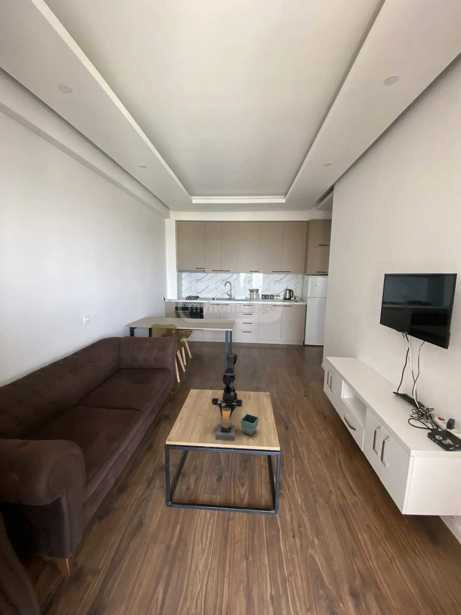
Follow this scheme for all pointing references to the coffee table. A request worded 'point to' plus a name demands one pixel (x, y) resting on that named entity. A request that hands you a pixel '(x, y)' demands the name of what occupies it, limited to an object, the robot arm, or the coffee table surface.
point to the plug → (226, 416)
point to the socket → (225, 436)
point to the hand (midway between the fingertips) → (225, 416)
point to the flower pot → (249, 423)
